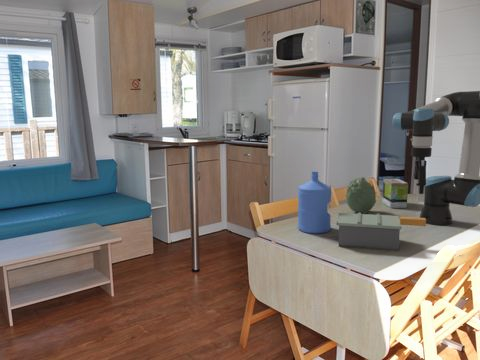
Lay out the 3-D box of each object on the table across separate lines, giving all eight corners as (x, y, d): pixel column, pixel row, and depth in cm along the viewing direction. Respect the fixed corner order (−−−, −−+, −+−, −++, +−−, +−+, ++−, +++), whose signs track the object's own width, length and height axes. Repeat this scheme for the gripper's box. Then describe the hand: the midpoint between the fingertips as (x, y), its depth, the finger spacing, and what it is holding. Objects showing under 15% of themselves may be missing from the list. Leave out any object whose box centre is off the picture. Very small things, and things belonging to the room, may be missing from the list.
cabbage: (379, 210, 239) (381, 175, 236) (369, 218, 224) (370, 181, 220) (352, 207, 248) (353, 173, 245) (340, 214, 233) (341, 178, 229)
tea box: (407, 208, 245) (408, 182, 242) (389, 208, 245) (391, 183, 242) (398, 202, 260) (399, 178, 257) (381, 202, 260) (382, 178, 257)
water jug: (309, 235, 197) (309, 175, 192) (291, 227, 211) (292, 171, 206) (337, 231, 203) (338, 173, 198) (318, 223, 217) (319, 168, 212)
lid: (422, 219, 186) (423, 213, 185) (427, 231, 170) (428, 224, 169) (338, 215, 196) (339, 209, 195) (336, 225, 180) (336, 219, 179)
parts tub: (396, 239, 190) (397, 219, 188) (398, 250, 175) (399, 229, 173) (340, 235, 197) (341, 216, 195) (338, 246, 182) (339, 225, 180)
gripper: (408, 143, 186) (406, 191, 190) (414, 149, 162) (411, 204, 166) (427, 144, 184) (424, 192, 188) (436, 150, 160) (432, 205, 164)
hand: (418, 198), depth 177 cm, fingers open, 13 cm apart
